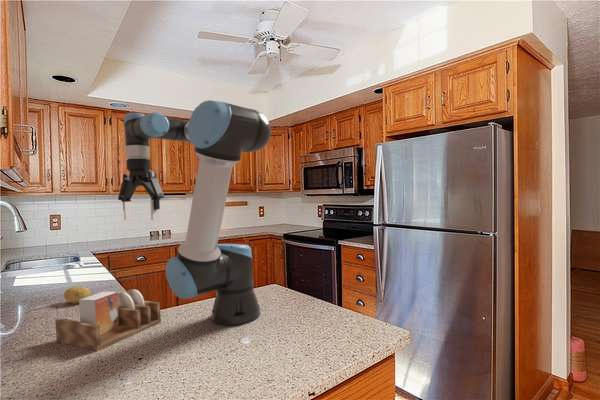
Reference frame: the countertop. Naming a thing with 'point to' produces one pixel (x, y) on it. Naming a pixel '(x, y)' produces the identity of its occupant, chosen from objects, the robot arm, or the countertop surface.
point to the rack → (131, 321)
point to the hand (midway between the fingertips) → (141, 219)
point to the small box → (100, 311)
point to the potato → (76, 294)
